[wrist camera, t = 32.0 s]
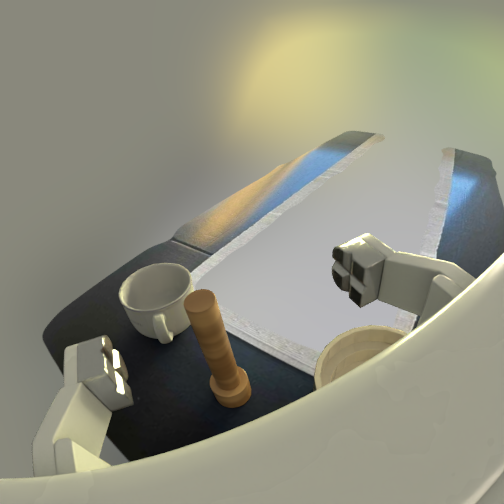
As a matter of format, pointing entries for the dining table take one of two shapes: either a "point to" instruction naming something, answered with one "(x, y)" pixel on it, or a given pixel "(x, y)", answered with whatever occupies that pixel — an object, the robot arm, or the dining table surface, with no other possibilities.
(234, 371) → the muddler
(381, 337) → the bowl
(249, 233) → the dining table surface
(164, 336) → the teacup
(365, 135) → the dining table surface
